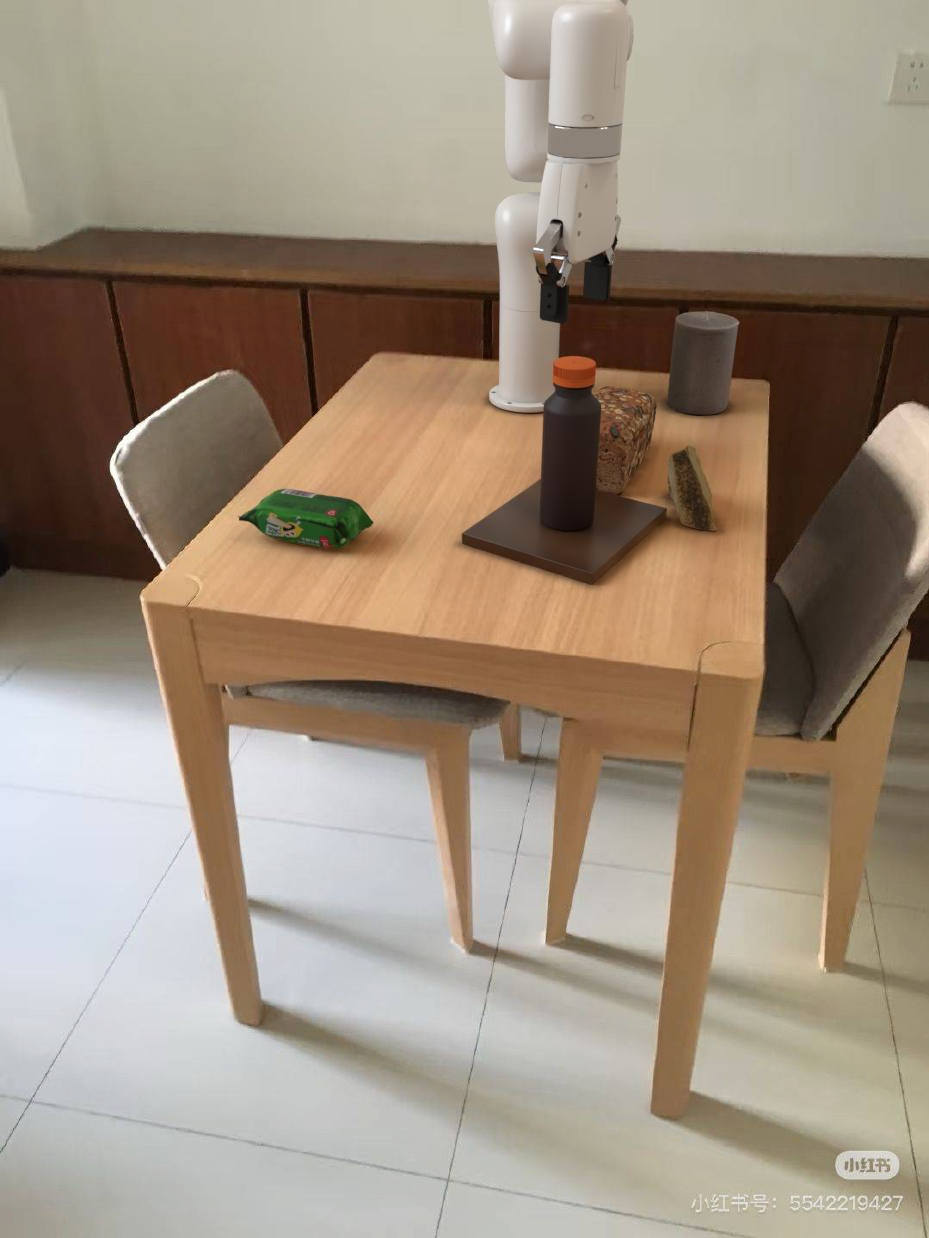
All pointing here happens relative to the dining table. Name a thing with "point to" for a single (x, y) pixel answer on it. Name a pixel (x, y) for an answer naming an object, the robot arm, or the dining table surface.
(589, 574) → the serving board
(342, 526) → the snack package
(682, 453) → the rock
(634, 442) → the bread
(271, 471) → the dining table surface
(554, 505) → the vinegar
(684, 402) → the pillar candle
